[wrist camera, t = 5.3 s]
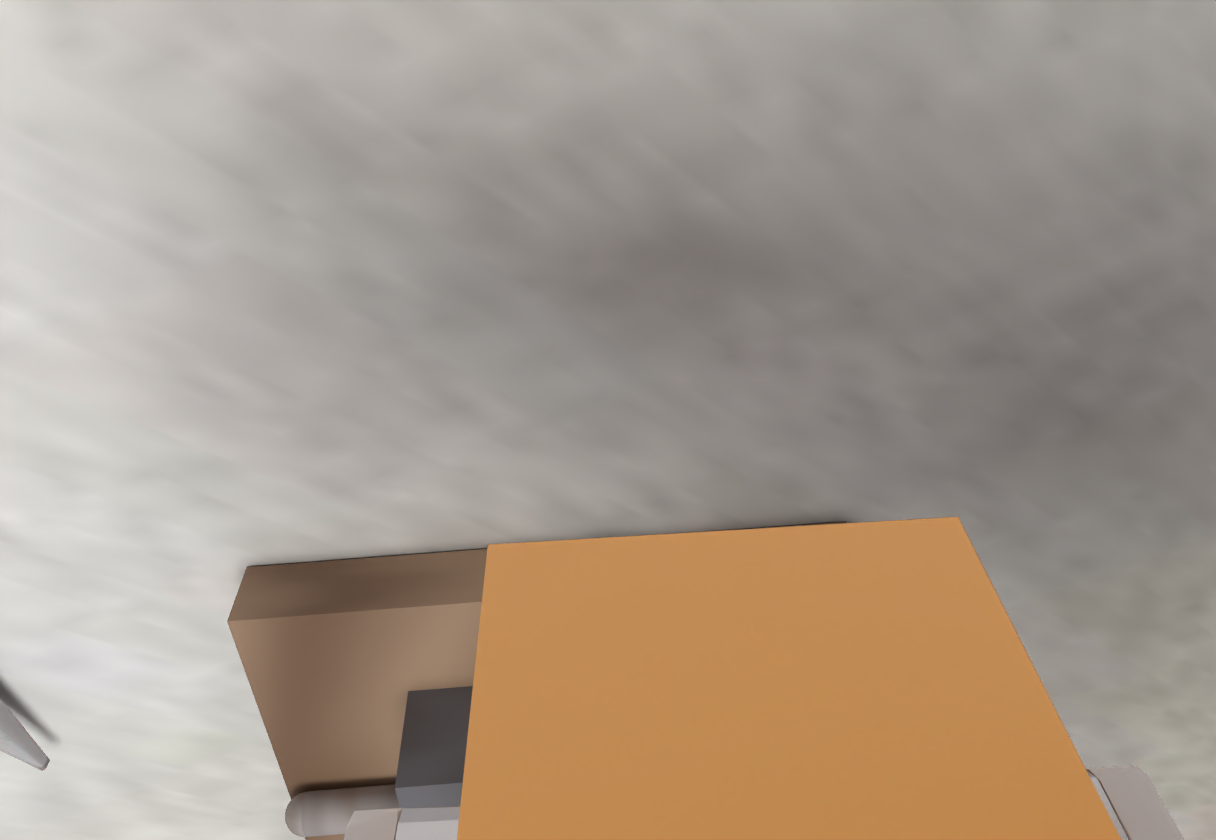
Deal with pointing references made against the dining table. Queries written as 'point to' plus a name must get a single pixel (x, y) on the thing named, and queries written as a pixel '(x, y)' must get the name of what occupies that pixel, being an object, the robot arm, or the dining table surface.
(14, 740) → the pliers
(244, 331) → the dining table surface
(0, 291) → the dining table surface
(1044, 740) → the orange knobbed cube
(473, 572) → the board
